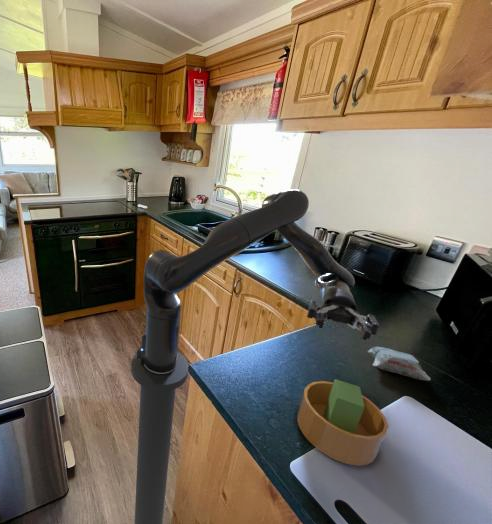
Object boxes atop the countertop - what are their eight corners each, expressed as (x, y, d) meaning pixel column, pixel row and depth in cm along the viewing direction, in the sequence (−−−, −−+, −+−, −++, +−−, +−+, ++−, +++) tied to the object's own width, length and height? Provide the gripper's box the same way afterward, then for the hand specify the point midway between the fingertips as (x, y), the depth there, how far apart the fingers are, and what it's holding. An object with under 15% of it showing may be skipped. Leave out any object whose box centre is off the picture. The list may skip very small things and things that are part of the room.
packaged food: (426, 387, 74) (433, 372, 73) (370, 371, 79) (375, 356, 78) (415, 368, 82) (422, 353, 80) (364, 354, 87) (369, 340, 85)
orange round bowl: (295, 442, 58) (303, 416, 56) (298, 396, 70) (304, 372, 68) (383, 480, 52) (396, 452, 50) (369, 422, 64) (380, 397, 61)
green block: (323, 435, 59) (337, 397, 56) (322, 414, 64) (334, 378, 61) (349, 445, 57) (364, 407, 54) (346, 423, 62) (360, 386, 59)
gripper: (311, 284, 81) (311, 307, 68) (374, 297, 75) (387, 325, 61) (305, 307, 84) (304, 334, 70) (365, 322, 77) (376, 354, 64)
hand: (343, 330), depth 66 cm, fingers open, 8 cm apart
